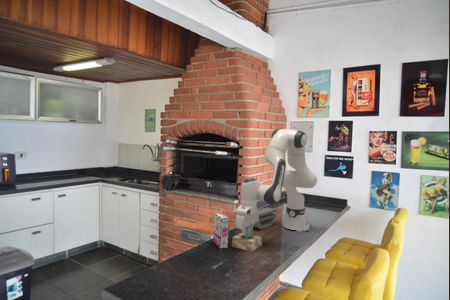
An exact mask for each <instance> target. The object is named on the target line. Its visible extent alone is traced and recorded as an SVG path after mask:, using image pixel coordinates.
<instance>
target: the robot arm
mask: <svg viewBox="0 0 450 300" xmlns="http://www.w3.org/2000/svg"><path fill="white" fill-rule="evenodd" d="M270 137H271V139H270V141H269V143H268V146H267V147H266V150H265V153H264V157H265V161H266V163H268V164H269V165H270V166H272V167H273V170H274V173H273V176H272V177H273V178H272V182H271V184H265V183H261V182H259V181H258V180H257V179H256V178H252V177H251V178H244V179H243V180H242V183H241V188H240V189H241V190H240V196H241V199H240V204H239V206H238V207H237V208H236V209H235V213H236V215H235V228H236V229H239V230H241V233H242V235H246V231H245V229H246V227H248V226H250V222H251V233H252V232H254V231H253V229H254V228H253V226H254V223H256V222H258V220H259V211H258V210H259V209H258V201H259V202H262V203H265V204H267V205H270V206H274V205H277V204H278V203H279V202H280V200H281V198H282V189H284V191H285V193H286V198H287V199H286V200H287V201H286V202H287V204H286V205H287V206H286V208H285V212H286V213H284V215H283V221H282V224H283V226H284V227H285V228H287V229H291V230H303V229H305V227H306V225H307V224H308V216H307V215H306V207H305V195H304V194H302V193H300V192H299V191H298V190H297V188H301V189H313V188H315V186H316V185H317V183H318V178H317V175H316V174H315V173H314V172H313V171H312V170H310V168H309V167H308V165H307V162H306V151H305V150H306V149H305V145H306V144H307V140H308V138H307V134H306V133H305V132H304V131H302V130H297V129H291V128H276V129H274V131H272V132H271V136H270ZM286 154H287V163H286V161H285V157H286ZM287 164H288V166H289V167H291V168H292V169H294V170H291V169H290V170H289V169H286V168H287V167H286V166H287ZM284 227H283V228H284ZM285 228H284V229H285ZM287 229H286V230H287Z"/></svg>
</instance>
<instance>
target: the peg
mask: <svg viewBox="0 0 450 300" xmlns="http://www.w3.org/2000/svg"><path fill="white" fill-rule="evenodd" d="M245 231H246V235H244V238H245V239H251V234H252V232H251V222H250V226H248V227H246V229H245Z"/></svg>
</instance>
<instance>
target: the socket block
mask: <svg viewBox="0 0 450 300" xmlns="http://www.w3.org/2000/svg"><path fill="white" fill-rule="evenodd" d="M262 240H263V236H261V235H256V234H252V233H251V239H245V238H244V235H242V232H240V233H239V234H235V236H232V237H231V247H232V248H236V249H239V250H243V251H247V252H251V253H252V252H253V251H255V250H257V249H258V248H260V247H261V246H262V245H263V244H262V243H263V242H262Z"/></svg>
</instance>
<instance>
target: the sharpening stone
mask: <svg viewBox="0 0 450 300" xmlns="http://www.w3.org/2000/svg"><path fill="white" fill-rule="evenodd" d="M258 211H259V220H258V222H256V223H254V226H253V227H255V228H254V229H256V228H258V229H257V230H260V229H263V228H265V227H268V226H270V225H272V226H273V224H274V222H275V220H276V219H277V214H275V213H277V212H278V209H277V208H272V207H268V206H267V207H264V208H261V209H258ZM263 230H264V229H263Z"/></svg>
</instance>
